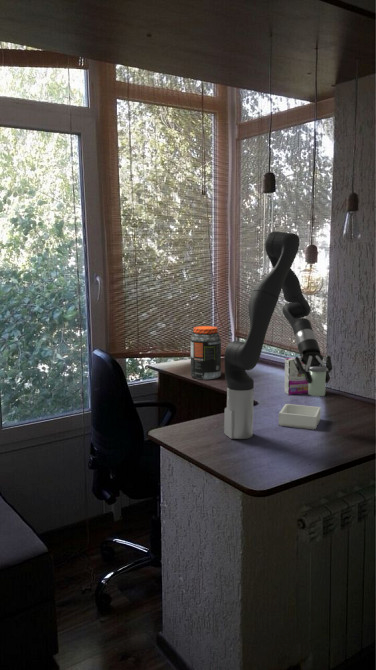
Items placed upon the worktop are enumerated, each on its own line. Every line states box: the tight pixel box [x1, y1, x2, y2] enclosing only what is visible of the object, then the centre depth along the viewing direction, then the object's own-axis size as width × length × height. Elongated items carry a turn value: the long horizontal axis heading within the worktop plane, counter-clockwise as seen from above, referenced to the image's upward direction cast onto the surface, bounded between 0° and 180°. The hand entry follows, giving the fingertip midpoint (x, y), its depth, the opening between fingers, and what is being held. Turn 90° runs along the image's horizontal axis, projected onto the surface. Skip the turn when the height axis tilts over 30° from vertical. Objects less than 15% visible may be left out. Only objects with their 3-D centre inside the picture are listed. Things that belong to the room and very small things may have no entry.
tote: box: [278, 403, 322, 431], centre depth 208 cm, size 14×14×5 cm
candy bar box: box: [283, 356, 309, 396], centre depth 251 cm, size 11×5×16 cm, turn 105°
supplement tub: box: [189, 325, 222, 380], centre depth 283 cm, size 16×16×26 cm
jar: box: [307, 365, 327, 397], centre depth 198 cm, size 6×6×10 cm
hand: (319, 382), depth 196 cm, fingers closed on jar, 6 cm apart
